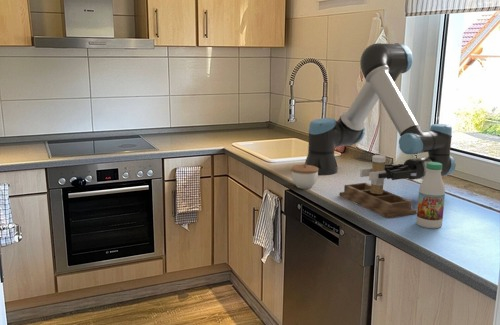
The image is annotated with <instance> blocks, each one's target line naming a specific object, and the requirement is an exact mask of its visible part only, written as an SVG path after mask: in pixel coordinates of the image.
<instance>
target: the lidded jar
mask: <svg viewBox="0 0 500 325" xmlns="http://www.w3.org/2000/svg"><path fill="white" fill-rule="evenodd" d="M290 170H291V180H292V182H293V183H294V185H295V186H296V188H298V189H305V190H306V189H312V188H313V186H314V185H315V184H316V183H317V181H318V177H319V174H318V167H315V166H311V165H306V164H305V163H303V164H296V165H293V166H291V169H290Z"/></svg>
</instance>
